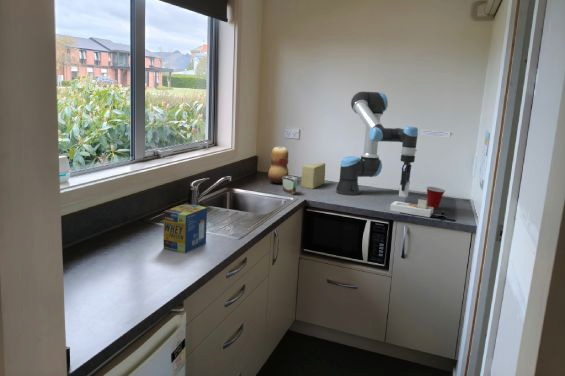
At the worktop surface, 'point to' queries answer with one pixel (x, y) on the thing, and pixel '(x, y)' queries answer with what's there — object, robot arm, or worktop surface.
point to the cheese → (313, 175)
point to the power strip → (412, 209)
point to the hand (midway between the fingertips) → (403, 195)
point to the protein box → (185, 227)
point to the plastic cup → (434, 196)
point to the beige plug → (422, 202)
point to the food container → (289, 184)
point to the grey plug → (406, 188)
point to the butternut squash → (278, 164)
